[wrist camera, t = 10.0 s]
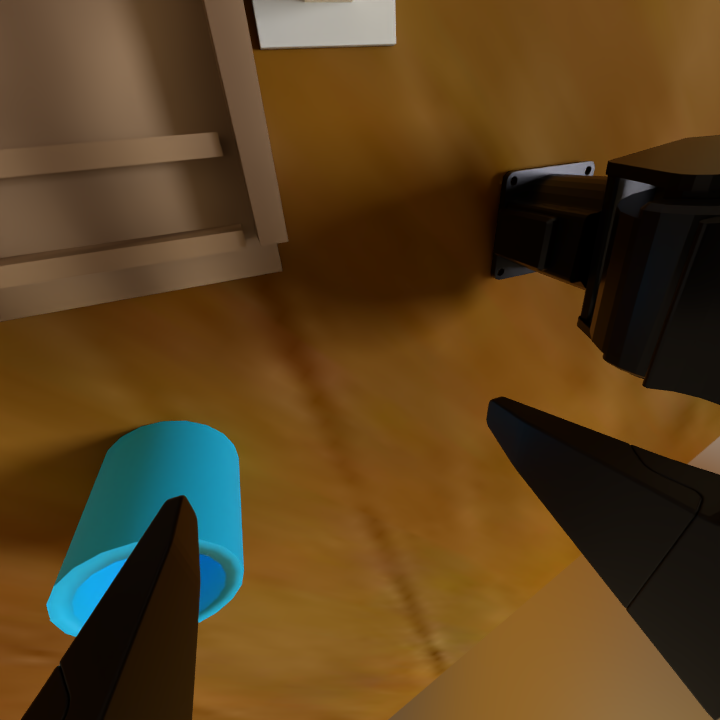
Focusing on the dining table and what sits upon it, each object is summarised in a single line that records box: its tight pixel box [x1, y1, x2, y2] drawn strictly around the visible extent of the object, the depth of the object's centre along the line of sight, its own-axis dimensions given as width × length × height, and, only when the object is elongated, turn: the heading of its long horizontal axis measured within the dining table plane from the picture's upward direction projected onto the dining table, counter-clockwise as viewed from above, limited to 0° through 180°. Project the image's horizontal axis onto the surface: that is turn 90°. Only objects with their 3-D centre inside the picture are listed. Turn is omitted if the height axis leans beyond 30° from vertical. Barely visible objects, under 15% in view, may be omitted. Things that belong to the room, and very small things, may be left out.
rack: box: [0, 0, 288, 322], centre depth 11 cm, size 14×18×3 cm
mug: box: [46, 421, 244, 637], centre depth 21 cm, size 12×8×8 cm
